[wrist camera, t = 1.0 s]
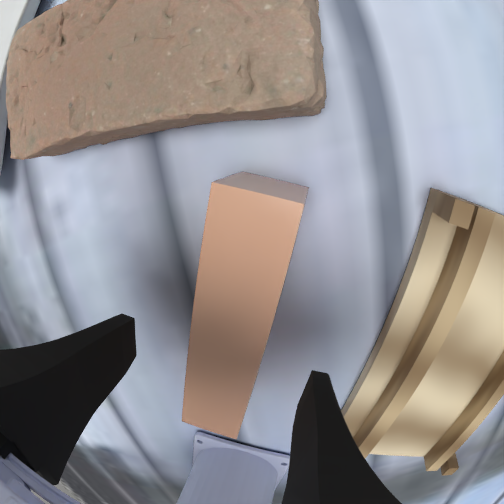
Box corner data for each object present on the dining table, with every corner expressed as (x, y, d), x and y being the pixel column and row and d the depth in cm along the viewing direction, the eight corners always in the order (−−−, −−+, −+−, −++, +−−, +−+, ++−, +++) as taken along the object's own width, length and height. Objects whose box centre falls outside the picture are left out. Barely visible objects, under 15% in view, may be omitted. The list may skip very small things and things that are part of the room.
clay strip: (253, 387, 19) (236, 439, 15) (206, 372, 19) (181, 421, 15) (309, 186, 14) (304, 204, 10) (243, 171, 15) (212, 182, 10)
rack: (445, 447, 18) (451, 474, 15) (324, 437, 19) (322, 470, 16) (564, 244, 11) (591, 261, 8) (430, 187, 13) (455, 198, 10)
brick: (311, -27, 10) (304, -79, 6) (328, 120, 13) (331, 108, 9) (58, 43, 14) (7, 34, 10) (58, 157, 17) (4, 167, 12)
